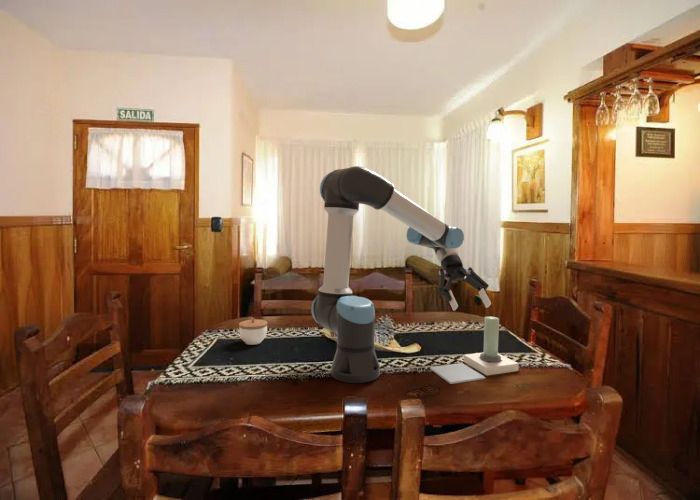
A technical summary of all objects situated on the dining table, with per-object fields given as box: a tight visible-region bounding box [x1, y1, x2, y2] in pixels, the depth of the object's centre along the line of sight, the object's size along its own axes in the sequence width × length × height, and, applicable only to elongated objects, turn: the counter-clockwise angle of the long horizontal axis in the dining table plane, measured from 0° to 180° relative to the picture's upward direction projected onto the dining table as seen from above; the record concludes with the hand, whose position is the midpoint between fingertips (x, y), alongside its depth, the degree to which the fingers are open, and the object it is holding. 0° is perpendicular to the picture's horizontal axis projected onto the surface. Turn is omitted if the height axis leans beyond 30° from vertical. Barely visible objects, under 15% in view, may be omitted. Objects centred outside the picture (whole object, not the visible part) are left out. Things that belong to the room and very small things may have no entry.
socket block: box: [463, 351, 519, 376], centre depth 127 cm, size 12×12×2 cm
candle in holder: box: [480, 316, 501, 363], centre depth 126 cm, size 6×6×16 cm
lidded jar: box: [238, 318, 268, 346], centre depth 150 cm, size 11×11×9 cm
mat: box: [429, 362, 486, 385], centre depth 121 cm, size 12×12×1 cm
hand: (472, 307), depth 135 cm, fingers open, 13 cm apart
